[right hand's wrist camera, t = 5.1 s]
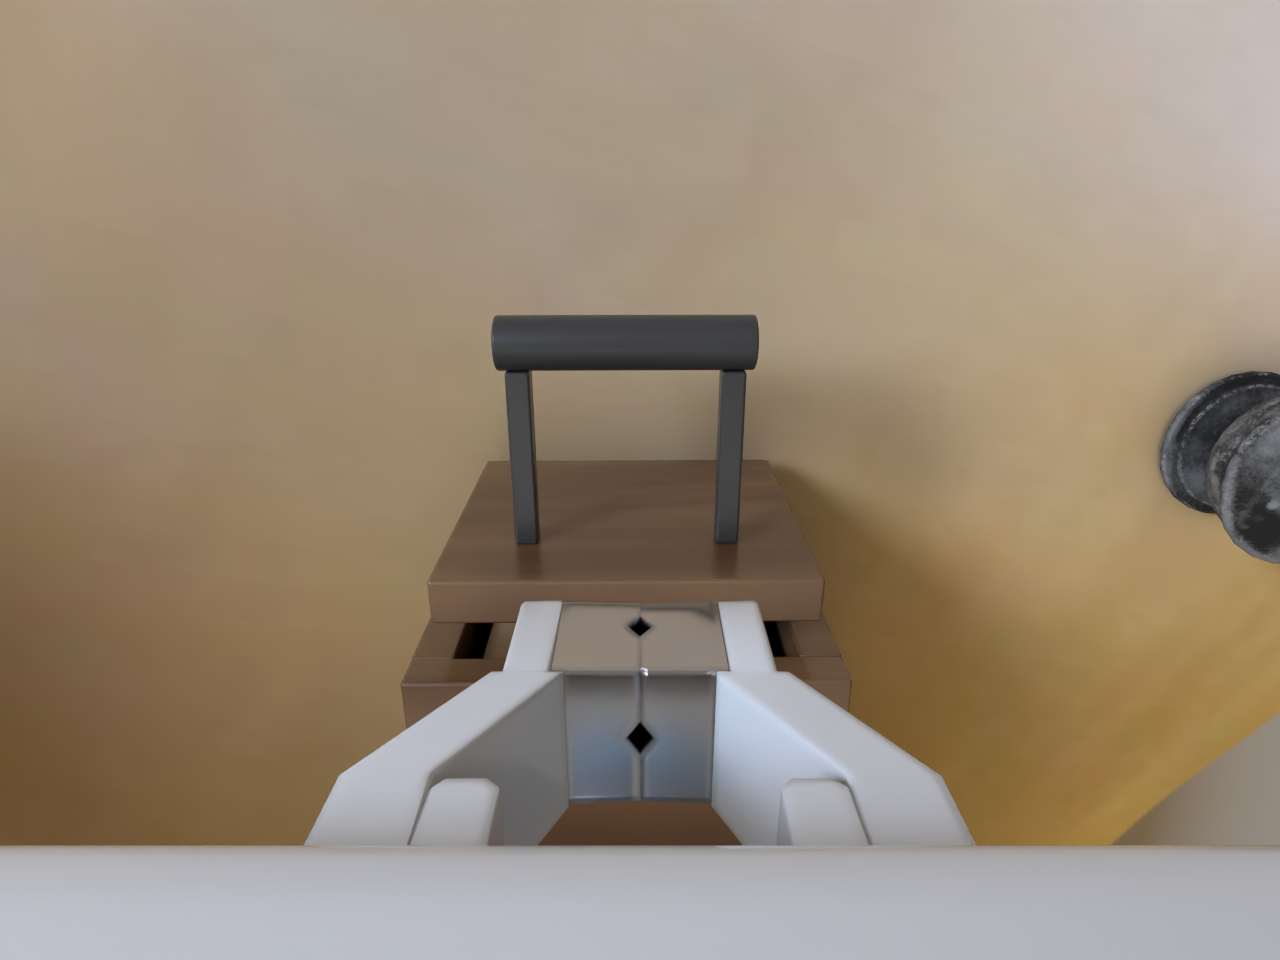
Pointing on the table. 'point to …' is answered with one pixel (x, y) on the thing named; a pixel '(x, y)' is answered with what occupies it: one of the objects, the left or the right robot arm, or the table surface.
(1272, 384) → the stone chess piece
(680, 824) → the brown wooden box
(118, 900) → the right robot arm
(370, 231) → the table surface
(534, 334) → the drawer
